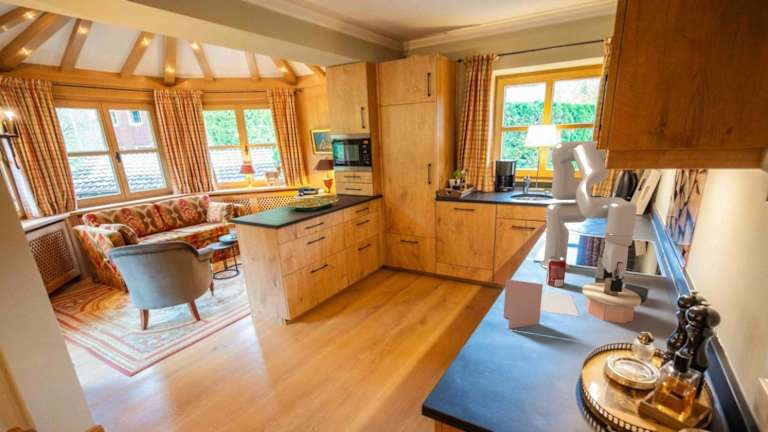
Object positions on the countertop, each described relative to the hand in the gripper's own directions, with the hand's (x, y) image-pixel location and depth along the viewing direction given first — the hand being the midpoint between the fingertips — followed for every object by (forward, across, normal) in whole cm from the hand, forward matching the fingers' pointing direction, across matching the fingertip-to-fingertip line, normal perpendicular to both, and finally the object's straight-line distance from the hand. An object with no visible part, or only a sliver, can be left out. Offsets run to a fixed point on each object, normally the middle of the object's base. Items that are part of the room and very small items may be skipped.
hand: (611, 285), depth 114 cm
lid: (+4, 0, 0) cm, 4 cm away
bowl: (+11, 0, 0) cm, 11 cm away
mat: (+11, -2, -18) cm, 21 cm away
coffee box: (+11, -18, +3) cm, 21 cm away
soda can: (+11, -20, -15) cm, 27 cm away
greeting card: (+11, +18, -29) cm, 36 cm away
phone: (+12, -21, +14) cm, 28 cm away
